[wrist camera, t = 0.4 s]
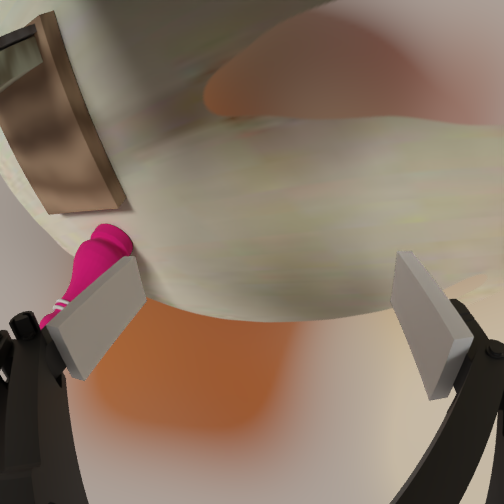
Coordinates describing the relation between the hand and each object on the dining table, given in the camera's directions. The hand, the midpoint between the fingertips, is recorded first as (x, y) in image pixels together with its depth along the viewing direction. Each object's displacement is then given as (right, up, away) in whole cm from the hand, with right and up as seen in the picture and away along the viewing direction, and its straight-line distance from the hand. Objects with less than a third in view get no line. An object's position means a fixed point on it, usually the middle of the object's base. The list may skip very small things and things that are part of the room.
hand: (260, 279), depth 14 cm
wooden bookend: (-24, +16, +12) cm, 31 cm away
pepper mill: (-20, +3, +25) cm, 32 cm away
